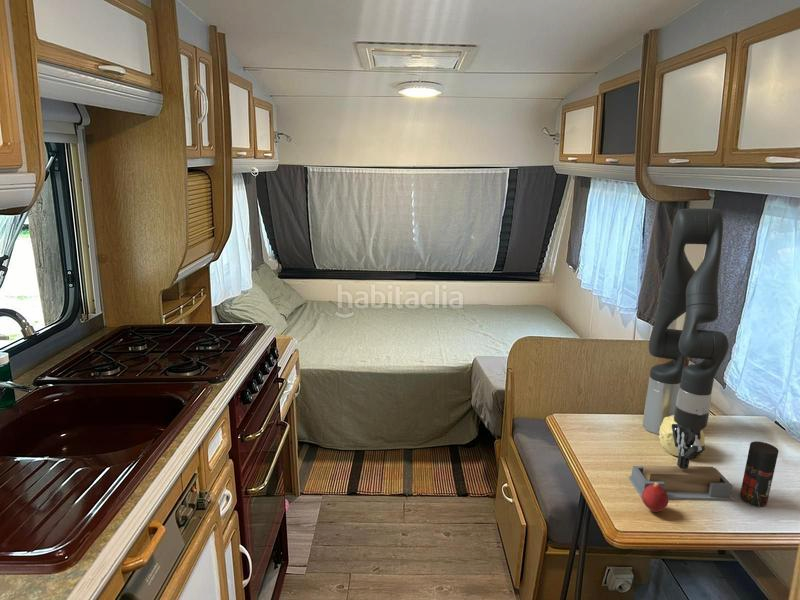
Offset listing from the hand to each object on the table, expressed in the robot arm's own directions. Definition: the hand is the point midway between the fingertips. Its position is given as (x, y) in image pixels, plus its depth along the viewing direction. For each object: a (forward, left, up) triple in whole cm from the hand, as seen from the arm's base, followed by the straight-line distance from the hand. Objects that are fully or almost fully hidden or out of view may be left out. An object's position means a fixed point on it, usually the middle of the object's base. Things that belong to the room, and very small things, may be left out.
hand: (682, 467), depth 142 cm
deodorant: (+4, +17, -7) cm, 19 cm away
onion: (+9, -11, -7) cm, 16 cm away
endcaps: (0, 0, -7) cm, 7 cm away
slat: (0, 0, -6) cm, 6 cm away
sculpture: (-19, +9, -7) cm, 22 cm away
